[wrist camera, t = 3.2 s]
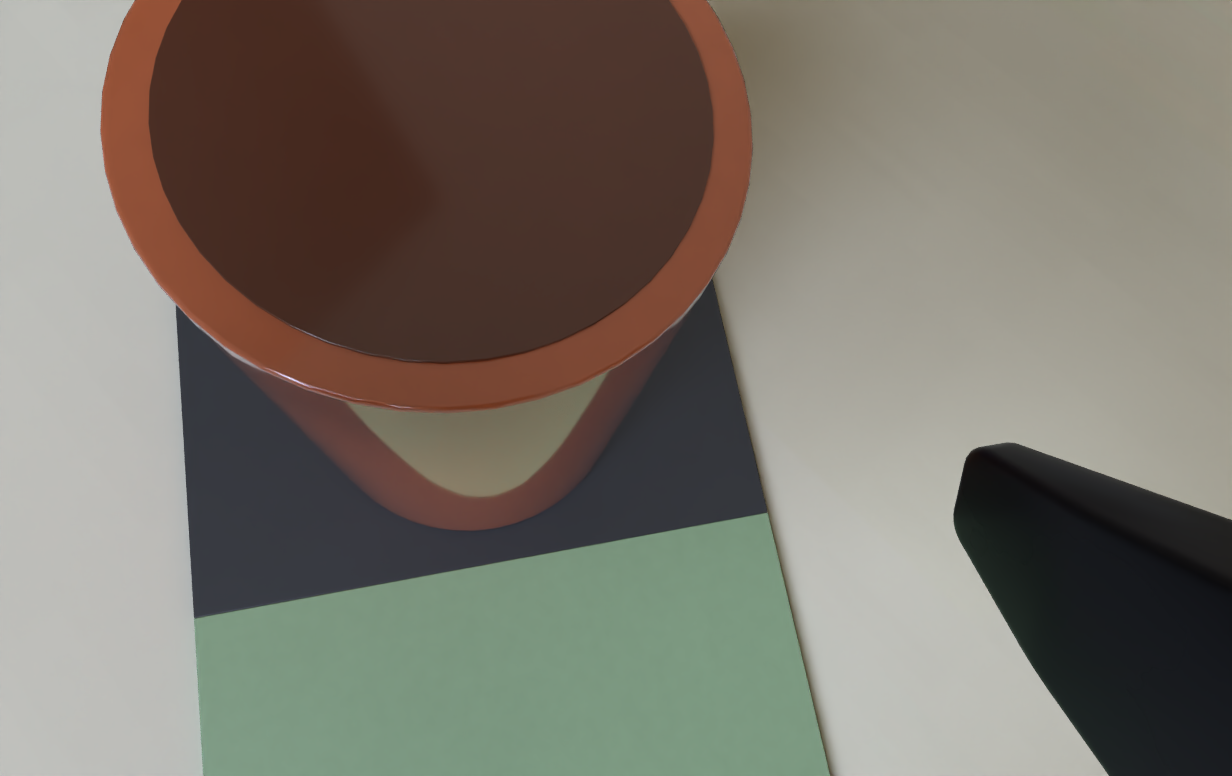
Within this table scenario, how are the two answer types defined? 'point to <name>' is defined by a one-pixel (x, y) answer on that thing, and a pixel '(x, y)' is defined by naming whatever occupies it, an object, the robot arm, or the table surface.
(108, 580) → the table surface
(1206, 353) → the table surface
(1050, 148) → the table surface
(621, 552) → the desk mat
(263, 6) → the tumbler
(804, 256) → the table surface
